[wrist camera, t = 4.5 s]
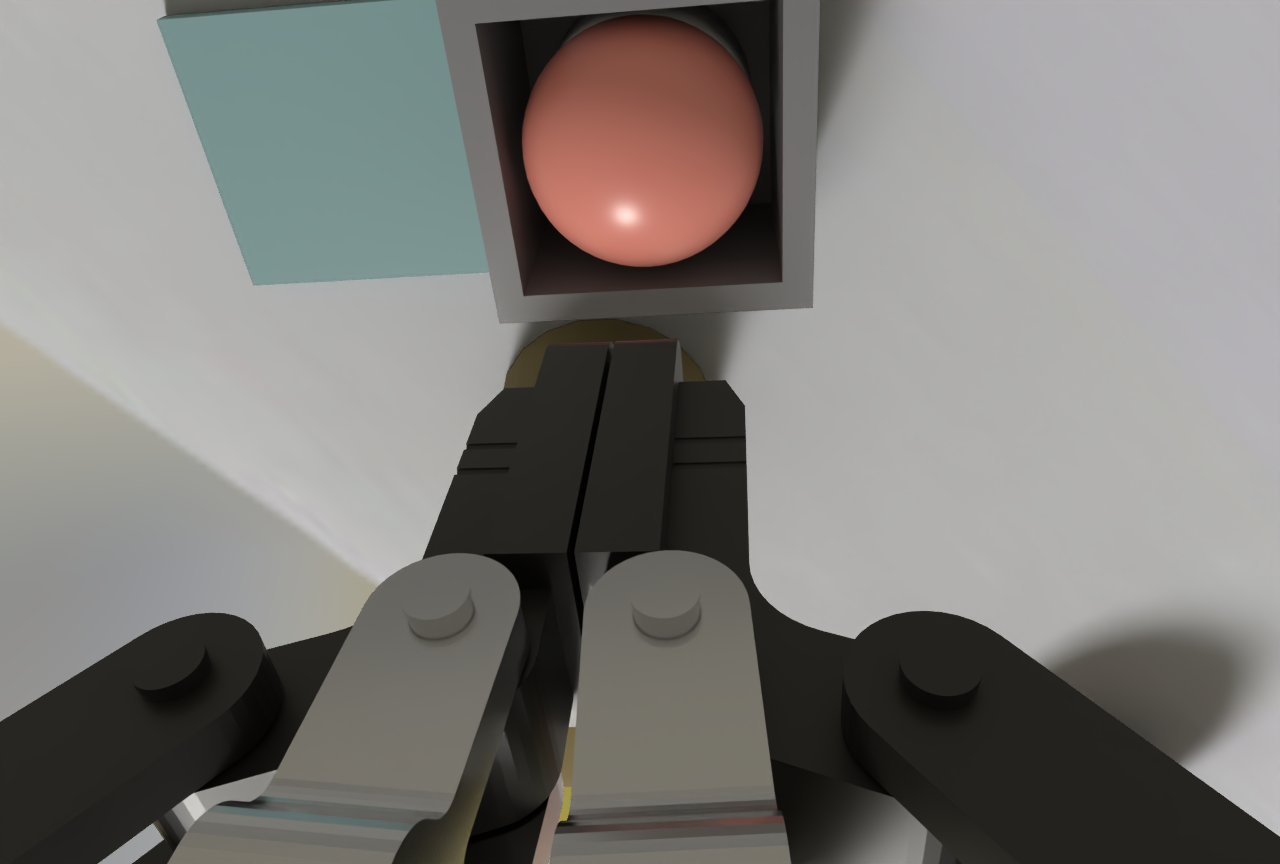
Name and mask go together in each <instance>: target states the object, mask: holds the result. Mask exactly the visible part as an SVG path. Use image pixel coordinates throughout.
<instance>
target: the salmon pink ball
mask: <svg viewBox="0 0 1280 864" xmlns="http://www.w3.org/2000/svg"><path fill="white" fill-rule="evenodd" d="M763 138H764V137H763V124H762V117H761V113H760V108H759V104H758V102H757V99H756V96H755V93H754V90H753V88H752V85H751V78H750V73H749V68H748V64H747V61H746V58H745V55H744V52H743V50H742V48H741V46H740V44H739V42H738V40H737V38H736V37H735V35H734V34H733V32H732V31H731V29H730V28H729V27H728V25H727V24H726V23H725V22H724V21H723V20H722V19H721V18H720V17H719V16H718V15H717V14H716V13H715V12H713V11H712V10H711V9H710V8H709V7H707V6H706V5H699V6H686V7H674V8H662V9H649V10H637V11H625V12H612V13H600V14H588V15H581V16H580V17H579V18H578V19H577V20H576V21H575V22H574V24H573V25H572V26H571V27H570V28H569V30H568V31H567V33H566V35H565V36H564V38H563V39H562V41H561V43H560V45H559V47H558V49H557V52H556V54H555V55H554V56H553V57H552V58H551V59H550V61H549V62H548V63H547V64H546V66H545V67H544V69H543V70H542V72H541V74H540V75H539V77H538V78H537V81H536V83H535V85H534V87H533V89H532V91H531V94H530V97H529V100H528V104H527V107H526V111H525V116H524V121H523V127H522V150H523V160H524V166H525V170H526V175H527V179H528V182H529V184H530V187H531V190H532V192H533V195H534V196H535V198H536V200H537V202H538V204H539V206H540V208H541V209H542V211H543V212H544V214H545V215H546V217H547V218H548V220H549V221H550V222H551V223H552V225H553V226H554V227H555V228H556V229H557V230H558V231H559V232H560V233H561V234H562V235H563V236H564V237H565V238H566V239H568V240H569V241H570V242H571V243H573V244H574V245H576V246H577V247H578V248H580V249H581V250H583V251H585V252H587V253H589V254H591V255H593V256H595V257H597V258H600V259H603V260H605V261H608V262H612V263H616V264H620V265H626V266H634V267H651V266H660V265H666V264H670V263H674V262H678V261H681V260H683V259H686V258H689V257H691V256H693V255H695V254H697V253H699V252H701V251H703V250H704V249H705V248H707V247H708V246H710V245H711V244H713V243H714V242H715V241H716V240H718V239H719V238H720V237H721V236H722V235H723V234H724V233H725V232H726V231H727V230H729V228H730V227H731V226H732V225H733V224H734V223H735V221H736V220H737V219H738V218H739V216H740V215H741V213H742V212H743V210H744V209H745V207H746V205H747V203H748V201H749V199H750V197H751V195H752V193H753V191H754V188H755V186H756V183H757V180H758V177H759V174H760V168H761V163H762V157H763Z"/></svg>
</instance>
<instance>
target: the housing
mask: <svg viewBox="0 0 1280 864" xmlns="http://www.w3.org/2000/svg"><path fill="white" fill-rule="evenodd" d="M435 1H436V6H437V11H438V17H439V22H440V27H441V32H442V37H443V42H444V47H445V52H446V57H447V62H448V67H449V72H450V77H451V82H452V87H453V92H454V97H455V102H456V107H457V112H458V117H459V122H460V127H461V132H462V137H463V142H464V147H465V152H466V157H467V162H468V167H469V172H470V177H471V182H472V187H473V192H474V197H475V202H476V207H477V212H478V217H479V222H480V227H481V232H482V237H483V242H484V247H485V252H486V257H487V262H488V267H489V272H490V277H491V282H492V287H493V293H494V298H495V303H496V308H497V313H498V318H499V323H520V322H540V321H559V320H579V319H599V318H619V317H639V316H659V315H679V314H698V313H718V312H738V311H758V310H778V309H798V308H813V275H814V233H815V192H816V150H817V108H818V67H819V25H820V0H435ZM699 5H706V6H707V7H709V8H710V9H711V10H712V11H713V12H715V13H716V14H717V15H718V16H719V17H720V18H721V19H722V20H723V21H724V22H725V23H726V24H727V25H728V27H729V28H730V29H731V31H732V32H733V34H734V35H735V37H736V38H737V40H738V42H739V44H740V46H741V48H742V50H743V52H744V55H745V58H746V61H747V64H748V68H749V73H750V78H751V85H752V88H753V90H754V93H755V96H756V99H757V102H758V104H759V108H760V113H761V117H762V124H763V137H764V138H763V157H762V163H761V168H760V174H759V177H758V180H757V183H756V186H755V188H754V191H753V193H752V195H751V197H750V199H749V201H748V203H747V205H746V207H745V209H744V210H743V212H742V213H741V215H740V216H739V218H738V219H737V220H736V221H735V223H734V224H733V225H732V226H731V227H730V228H729V230H727V231H726V232H725V233H724V234H723V235H722V236H721V237H720V238H719V239H718V240H716V241H715V242H714V243H713V244H711V245H710V246H708V247H707V248H705V249H704V250H703V251H701V252H699V253H697V254H695V255H693V256H691V257H689V258H686V259H683V260H681V261H678V262H674V263H670V264H666V265H660V266H651V267H634V266H626V265H620V264H616V263H612V262H608V261H605V260H603V259H600V258H597V257H595V256H593V255H591V254H589V253H587V252H585V251H583V250H581V249H580V248H578V247H577V246H576V245H574V244H573V243H571V242H570V241H569V240H568V239H566V238H565V237H564V236H563V235H562V234H561V233H560V232H559V231H558V230H557V229H556V228H555V227H554V226H553V225H552V223H551V222H550V221H549V220H548V218H547V217H546V215H545V214H544V212H543V211H542V209H541V208H540V206H539V204H538V202H537V200H536V198H535V196H534V195H533V192H532V190H531V187H530V184H529V182H528V179H527V175H526V170H525V166H524V160H523V150H522V127H523V121H524V116H525V111H526V107H527V104H528V100H529V97H530V94H531V91H532V89H533V87H534V85H535V83H536V81H537V78H538V77H539V75H540V74H541V72H542V70H543V69H544V67H545V66H546V64H547V63H548V62H549V61H550V59H551V58H552V57H553V56H554V55H555V54H556V52H557V49H558V47H559V45H560V43H561V41H562V39H563V38H564V36H565V35H566V33H567V31H568V30H569V28H570V27H571V26H572V25H573V24H574V22H575V21H576V20H577V19H578V18H579V17H580V16H581V15H588V14H600V13H612V12H625V11H637V10H649V9H662V8H674V7H686V6H699Z"/></svg>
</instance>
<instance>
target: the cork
mask: <svg viewBox="0 0 1280 864" xmlns="http://www.w3.org/2000/svg"><path fill="white" fill-rule="evenodd" d="M662 339H668V338H666V337H664V336H663V335H661V334H659V333H657V332H655V331H654V330H652V329H650V328H648V327H644V326H640V325H636V324H632V323H628V322H623V321H619V320H615V319H607V320H582V321H576V322H573V323H570V324H567V325H565V326H562V327H559V328H556V329H553V330H550V331H547V332H546V333H544V334H543V335H542V336H540V337H539V338H538V339H536V340H535V341H534V342H532V343H531V344H530V345H528V346H527V347H526V348H524V349H523V350H522V351H521V353H520V354H519V356H518V357H517V359H516V361H515V362H514V364H513V365H512V367H511V368H510V370H509V371H508V373H507V375H506V380H505V386H504V389H505V388H521V387H535V383H536V380H537V377H538V374H539V370H540V367H541V364H542V361H543V357H544V354H545V351H546V348H547V346H548V345H549V344H565V343H591V342H612V343H613V346H614V344H615V342H616V341H636V340H662ZM680 348H681V347H680ZM681 358H682V372H683V382H691V381H705V378H704V376H703V374H702V372H701V369H700V367H699V366H698V365H697V364H696V363H695V362H694V361H693V360H692V359H691V358H690V357H689V356H688V354H687V353H686V352H685V351H684V350H683V349H682V348H681ZM575 731H576V727H569V728H568V734H567V740H566V746H565V753H564V759H563V765H562V769H561V775H562V779H563V784H564V787H572V775H573V760H574V745H575Z"/></svg>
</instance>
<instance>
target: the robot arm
mask: <svg viewBox="0 0 1280 864" xmlns="http://www.w3.org/2000/svg"><path fill="white" fill-rule="evenodd" d="M466 445H467V449H466V450H464V451H463V454H462V457H461V459H460V462H459V464H458V467H457V475H454V478H453V480H452V483H451V485H450V488H449V491H448V493H447V496H446V499H445V501H444V504H443V506H442V509H441V512H440V514H439V517H438V520H437V522H436V525H435V527H434V530H433V533H432V535H431V538H430V541H429V543H428V546H427V548H426V551H425V554H424V556H423V559H422V560H420V561H418V562H415V563H412V564H410V565H408V566H406V567H404V568H402V569H400V570H399V571H397V572H396V573H394V574H393V575H391V576H390V577H388V578H387V579H386V580H385V581H384V582H382V583H381V584H380V585H379V586H378V587H377V588H376V589H375V591H374V592H373V593H372V594H371V595H370V597H369V598H368V600H367V601H366V603H365V604H364V606H363V608H362V610H361V612H360V614H359V616H358V618H357V619H356V622H355V623H354V625H353V626H351V627H348V628H346V629H343V630H339V631H336V632H333V633H329V634H326V635H322V636H318V637H314V638H310V639H306V640H302V641H298V642H294V643H291V644H287V645H283V646H279V647H275V648H271V649H267V650H266V648H265V646H264V643H263V641H262V639H261V637H260V635H259V633H258V631H257V630H256V629H255V628H254V626H253V625H252V624H250V623H249V622H247V621H246V620H244V619H242V618H240V617H237V616H234V615H229V614H225V613H204V614H195V615H191V616H186V617H182V618H179V619H176V620H173V621H170V622H167V623H165V624H162V625H160V626H158V627H156V628H153V629H152V630H150V631H148V632H146V633H144V634H143V635H141V636H139V637H137V638H136V639H134V640H132V641H131V642H129V643H128V644H126V645H124V646H123V647H121V648H120V649H118V650H116V651H115V652H113V653H111V654H110V655H108V656H106V657H105V658H103V659H102V660H100V661H98V662H97V663H95V664H93V665H92V666H90V667H89V668H87V669H85V670H84V671H82V672H80V673H79V674H77V675H76V676H74V677H73V678H71V679H69V680H68V681H66V682H64V683H63V684H61V685H59V686H58V687H56V688H54V689H53V690H51V691H50V692H48V693H47V694H45V695H43V696H41V697H40V698H38V699H37V700H35V701H33V702H32V703H30V704H29V705H27V706H25V707H24V708H22V709H20V710H19V711H17V712H16V713H14V714H12V715H11V716H9V717H7V718H6V719H4V720H3V721H1V722H0V864H98V863H99V862H100V861H102V860H103V859H105V858H106V857H107V856H109V855H110V854H111V853H113V852H114V851H115V850H117V849H118V848H119V847H121V846H122V845H123V844H125V843H126V842H128V841H129V840H130V839H132V838H133V837H134V836H136V835H137V834H138V833H140V832H141V831H143V830H144V829H145V828H146V827H148V826H149V825H151V824H152V823H153V824H154V825H155V827H156V828H157V830H158V831H159V832H160V834H161V836H162V837H163V838H164V840H163V841H162V842H160V843H159V844H158V845H156V846H155V847H154V848H152V849H151V850H150V851H148V852H147V853H146V854H144V855H143V856H142V857H140V858H139V859H138V860H136V861H135V862H134V863H132V864H548V863H549V859H550V864H1280V837H1279V836H1278V835H1276V834H1275V833H1274V832H1272V831H1271V830H1270V829H1268V828H1267V827H1265V826H1264V825H1263V824H1261V823H1260V822H1258V821H1257V820H1256V819H1254V818H1253V817H1252V816H1250V815H1249V814H1247V813H1246V812H1245V811H1243V810H1242V809H1240V808H1239V807H1238V806H1236V805H1235V804H1234V803H1232V802H1231V801H1229V800H1228V799H1227V798H1225V797H1224V796H1222V795H1221V794H1220V793H1218V792H1217V791H1216V790H1214V789H1213V788H1211V787H1210V786H1209V785H1207V784H1206V783H1204V782H1203V781H1202V780H1200V779H1199V778H1197V777H1196V776H1195V775H1193V774H1192V773H1191V772H1189V771H1188V770H1186V769H1185V768H1184V767H1182V766H1181V765H1179V764H1178V763H1177V762H1175V761H1174V760H1173V759H1171V758H1170V757H1168V756H1167V755H1166V754H1164V753H1163V752H1161V751H1160V750H1159V749H1157V748H1156V747H1155V746H1153V745H1152V744H1150V743H1149V742H1148V741H1146V740H1145V739H1143V738H1142V737H1141V736H1139V735H1138V734H1136V733H1135V732H1134V731H1132V730H1131V729H1130V728H1128V727H1127V726H1125V725H1124V724H1123V723H1121V722H1120V721H1118V720H1117V719H1116V718H1114V717H1113V716H1112V715H1110V714H1109V713H1107V712H1106V711H1105V710H1103V709H1102V708H1100V707H1099V706H1098V705H1096V704H1095V703H1094V702H1092V701H1091V700H1089V699H1088V698H1087V697H1085V696H1084V695H1082V694H1081V693H1080V692H1078V691H1077V690H1075V689H1074V688H1073V687H1071V686H1070V685H1069V684H1067V683H1066V682H1064V681H1063V680H1062V679H1060V678H1059V677H1057V676H1056V675H1055V674H1053V673H1052V672H1051V671H1049V670H1048V669H1046V668H1045V667H1044V666H1042V665H1041V664H1039V663H1038V662H1037V661H1035V660H1034V659H1033V658H1031V657H1030V656H1028V655H1027V654H1026V653H1024V652H1023V651H1021V650H1020V649H1019V648H1017V647H1016V646H1014V645H1013V644H1012V643H1010V642H1009V641H1008V640H1006V639H1005V638H1003V637H1002V636H1001V635H999V634H997V633H996V632H994V631H993V630H991V629H989V628H988V627H986V626H984V625H981V624H979V623H977V622H975V621H973V620H970V619H967V618H964V617H961V616H958V615H953V614H948V613H943V612H933V611H913V612H906V613H900V614H895V615H892V616H889V617H886V618H883V619H881V620H879V621H877V622H875V623H873V624H871V625H870V626H869V627H867V628H866V629H865V630H863V631H862V632H861V633H860V634H859V635H858V636H857V637H856V639H851V638H847V637H844V636H840V635H836V634H832V633H828V632H824V631H820V630H817V629H814V628H811V627H808V626H805V625H803V624H801V623H799V622H796V621H794V620H792V619H790V618H789V617H787V616H785V615H784V614H782V613H781V612H779V611H778V610H777V609H775V608H774V607H773V606H772V605H771V604H769V603H768V601H767V600H766V599H765V598H764V597H763V596H762V595H761V593H760V592H759V590H758V589H757V587H756V585H755V584H754V581H753V578H752V576H751V573H750V566H749V536H748V500H747V465H746V430H745V405H744V404H743V403H742V401H741V400H740V399H739V398H738V396H737V395H736V394H735V392H734V391H733V390H732V388H731V387H730V386H729V384H728V383H727V382H726V380H720V381H691V382H683V372H682V358H681V348H680V342H679V339H662V340H636V341H616V342H615V344H614V346H613V343H612V342H591V343H565V344H549V345H548V346H547V348H546V351H545V354H544V357H543V361H542V364H541V367H540V370H539V374H538V377H537V380H536V383H535V387H521V388H505V389H504V390H502V391H501V392H500V393H499V394H498V395H497V396H496V397H495V398H494V399H493V400H492V401H491V402H490V403H489V404H488V405H487V406H486V407H485V408H484V409H483V410H482V411H481V412H479V413H478V415H477V417H476V420H475V422H474V425H473V428H472V430H471V433H470V436H469V438H468V441H467V443H466ZM569 727H576V731H575V745H574V760H573V775H572V790H571V804H570V811H569V815H568V819H567V821H560V822H559V823H558V821H559V817H560V812H561V809H562V804H563V797H564V784H563V779H562V775H561V769H562V765H563V759H564V753H565V746H566V740H567V734H568V728H569Z"/></svg>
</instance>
